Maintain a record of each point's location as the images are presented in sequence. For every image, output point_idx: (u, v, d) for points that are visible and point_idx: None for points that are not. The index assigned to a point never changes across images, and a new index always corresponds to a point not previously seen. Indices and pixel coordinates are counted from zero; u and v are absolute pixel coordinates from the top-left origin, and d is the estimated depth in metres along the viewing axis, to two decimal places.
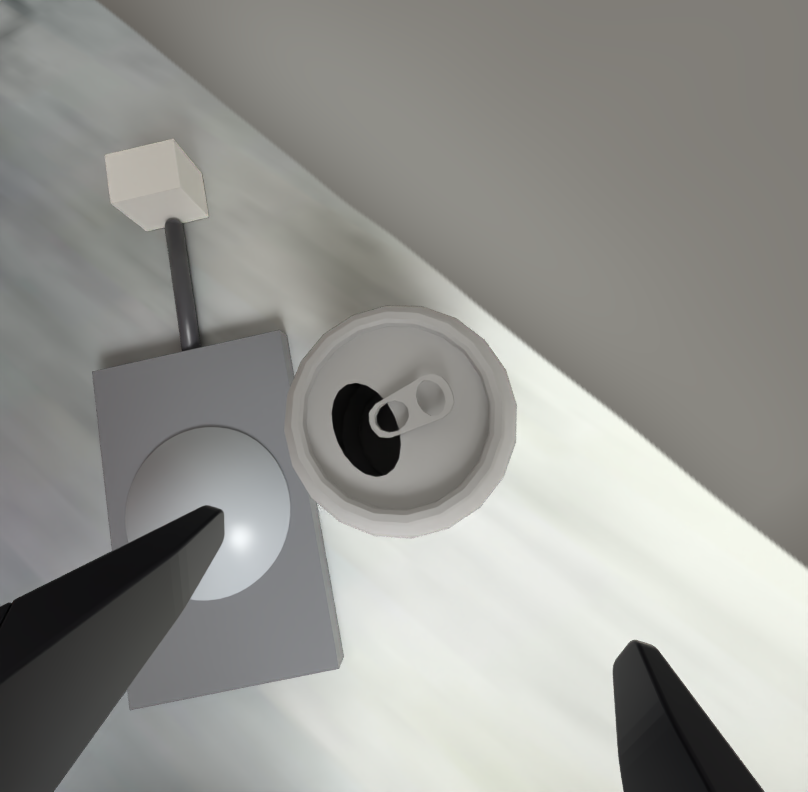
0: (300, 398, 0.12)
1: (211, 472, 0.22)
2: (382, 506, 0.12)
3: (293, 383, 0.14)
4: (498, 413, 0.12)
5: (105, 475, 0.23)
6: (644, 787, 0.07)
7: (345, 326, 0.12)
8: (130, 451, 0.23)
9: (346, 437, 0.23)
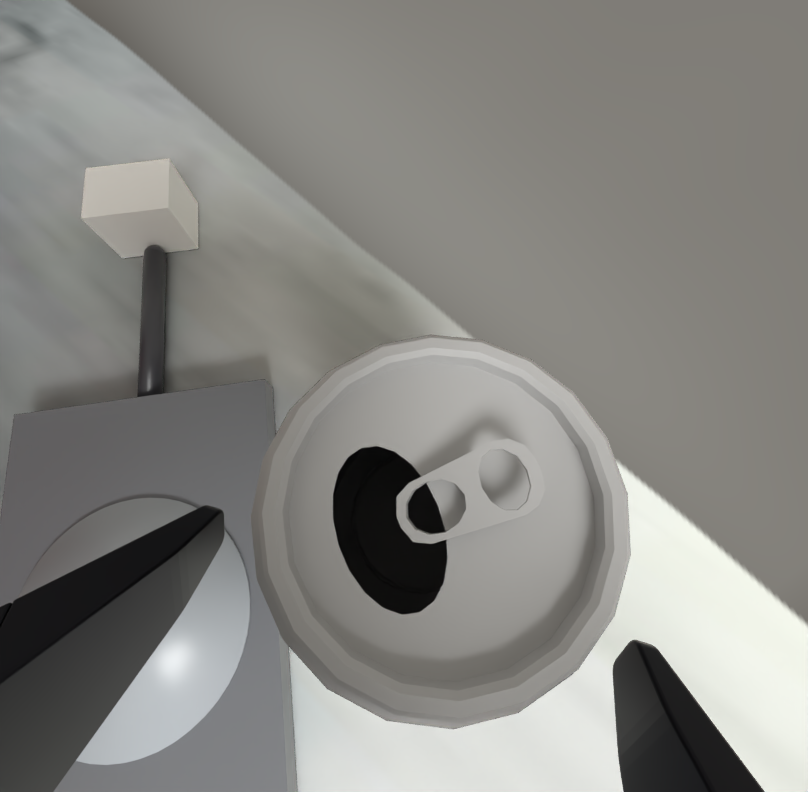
0: (283, 466, 0.07)
1: None
2: (410, 673, 0.07)
3: (274, 441, 0.09)
4: (618, 512, 0.07)
5: None
6: (644, 787, 0.07)
7: (368, 355, 0.08)
8: (40, 525, 0.17)
9: (336, 523, 0.17)
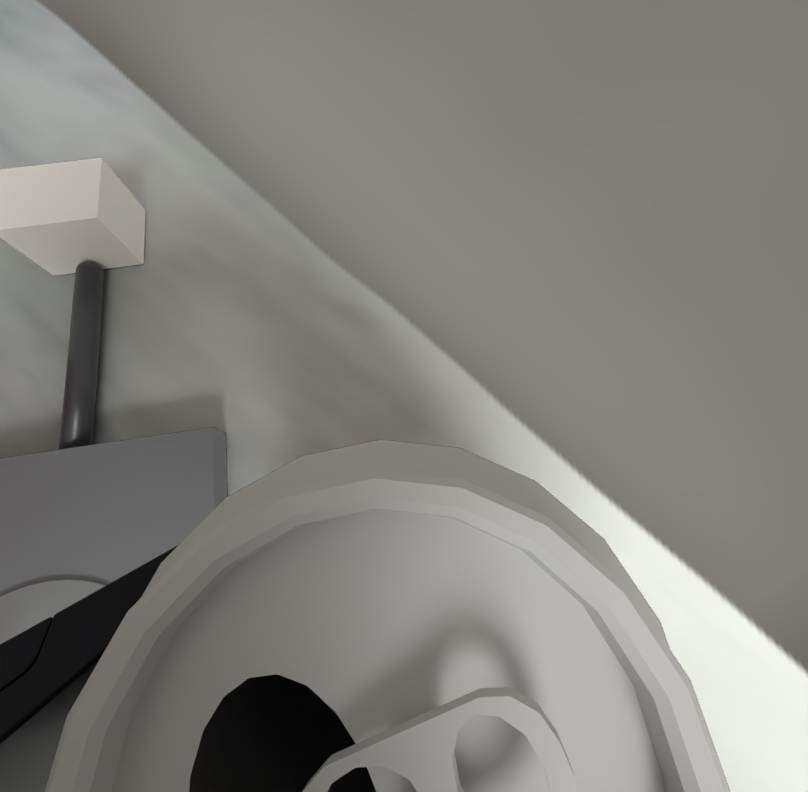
0: (89, 740, 0.04)
1: None
2: None
3: None
4: None
5: None
6: None
7: (261, 513, 0.04)
8: None
9: None
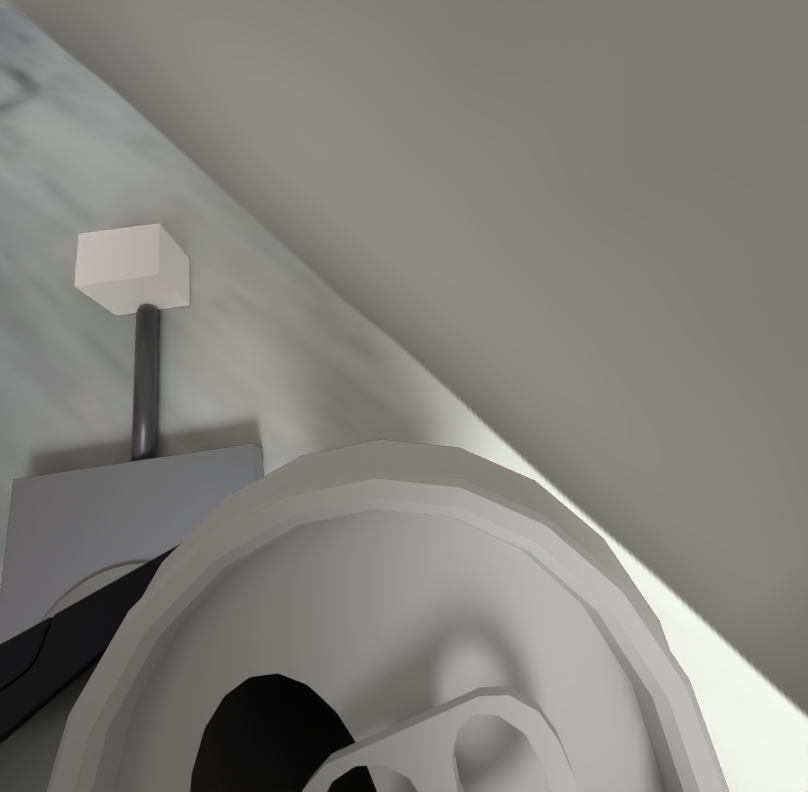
0: (91, 739, 0.04)
1: None
2: None
3: None
4: None
5: None
6: None
7: (261, 513, 0.04)
8: (39, 589, 0.18)
9: None
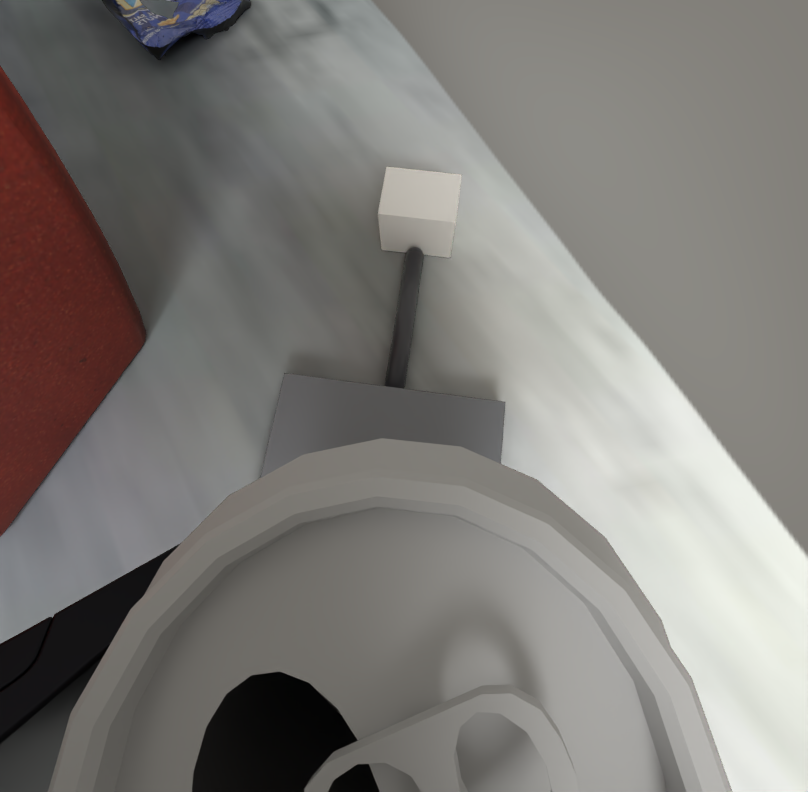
0: (93, 737, 0.04)
1: None
2: None
3: None
4: None
5: None
6: None
7: (263, 511, 0.04)
8: None
9: None
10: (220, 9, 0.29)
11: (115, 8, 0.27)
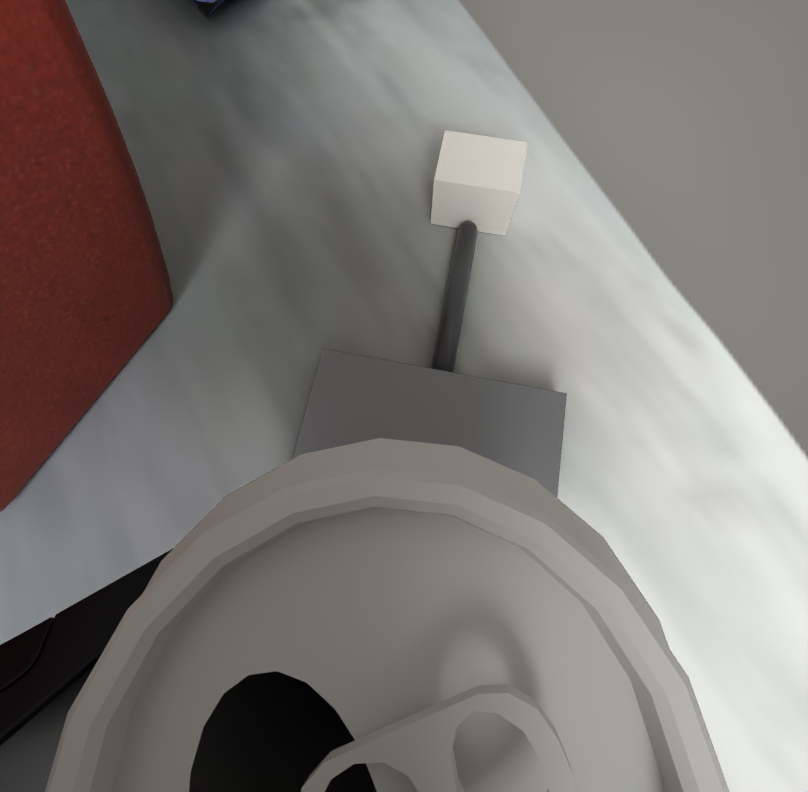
0: (90, 736, 0.04)
1: None
2: None
3: None
4: None
5: None
6: None
7: (260, 511, 0.04)
8: None
9: None
10: None
11: None
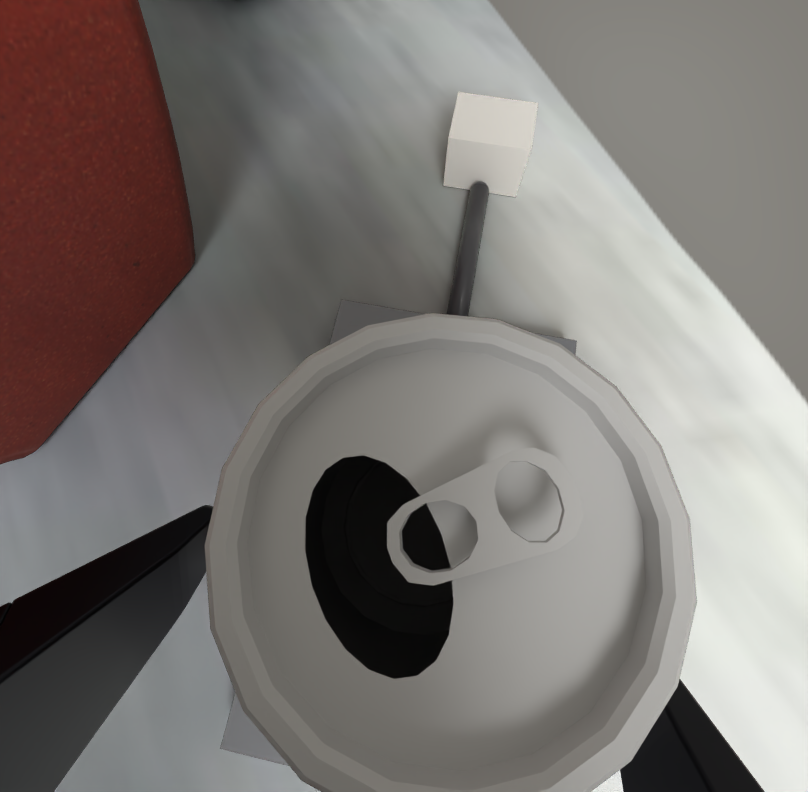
0: (240, 483, 0.06)
1: None
2: (404, 759, 0.05)
3: None
4: (679, 545, 0.05)
5: None
6: (644, 787, 0.07)
7: (351, 339, 0.06)
8: None
9: (327, 529, 0.16)
10: None
11: None
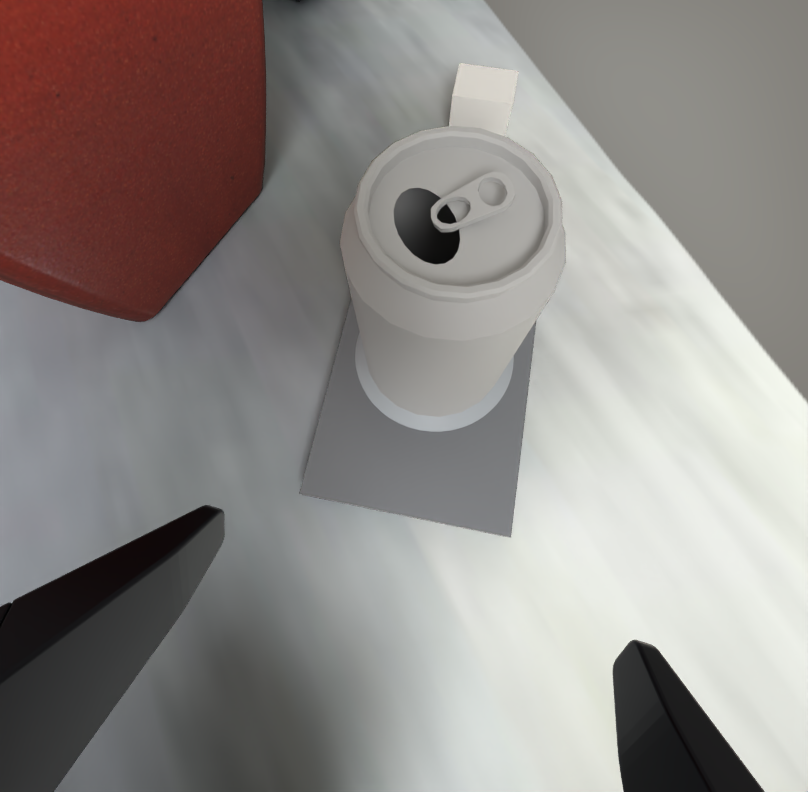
0: (366, 189, 0.13)
1: None
2: None
3: (352, 202, 0.14)
4: (556, 208, 0.12)
5: None
6: (644, 787, 0.07)
7: (413, 134, 0.13)
8: None
9: None
10: None
11: None
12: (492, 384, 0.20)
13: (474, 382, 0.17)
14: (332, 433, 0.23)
